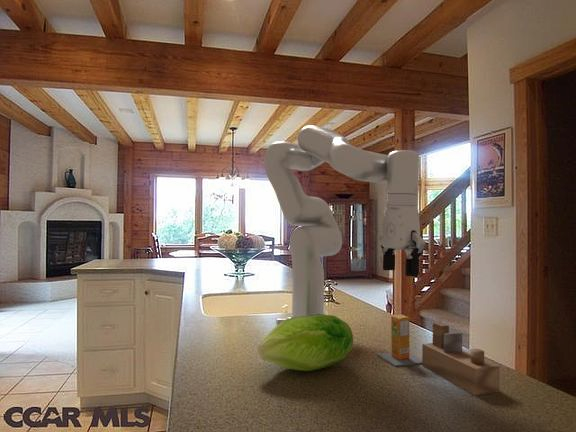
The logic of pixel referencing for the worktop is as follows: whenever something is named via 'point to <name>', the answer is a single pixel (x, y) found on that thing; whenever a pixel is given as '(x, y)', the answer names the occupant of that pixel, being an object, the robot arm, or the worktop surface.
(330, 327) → the lettuce
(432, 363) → the brown wooden block shape
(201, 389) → the worktop surface
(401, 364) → the mat
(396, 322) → the supplement box
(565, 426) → the worktop surface
